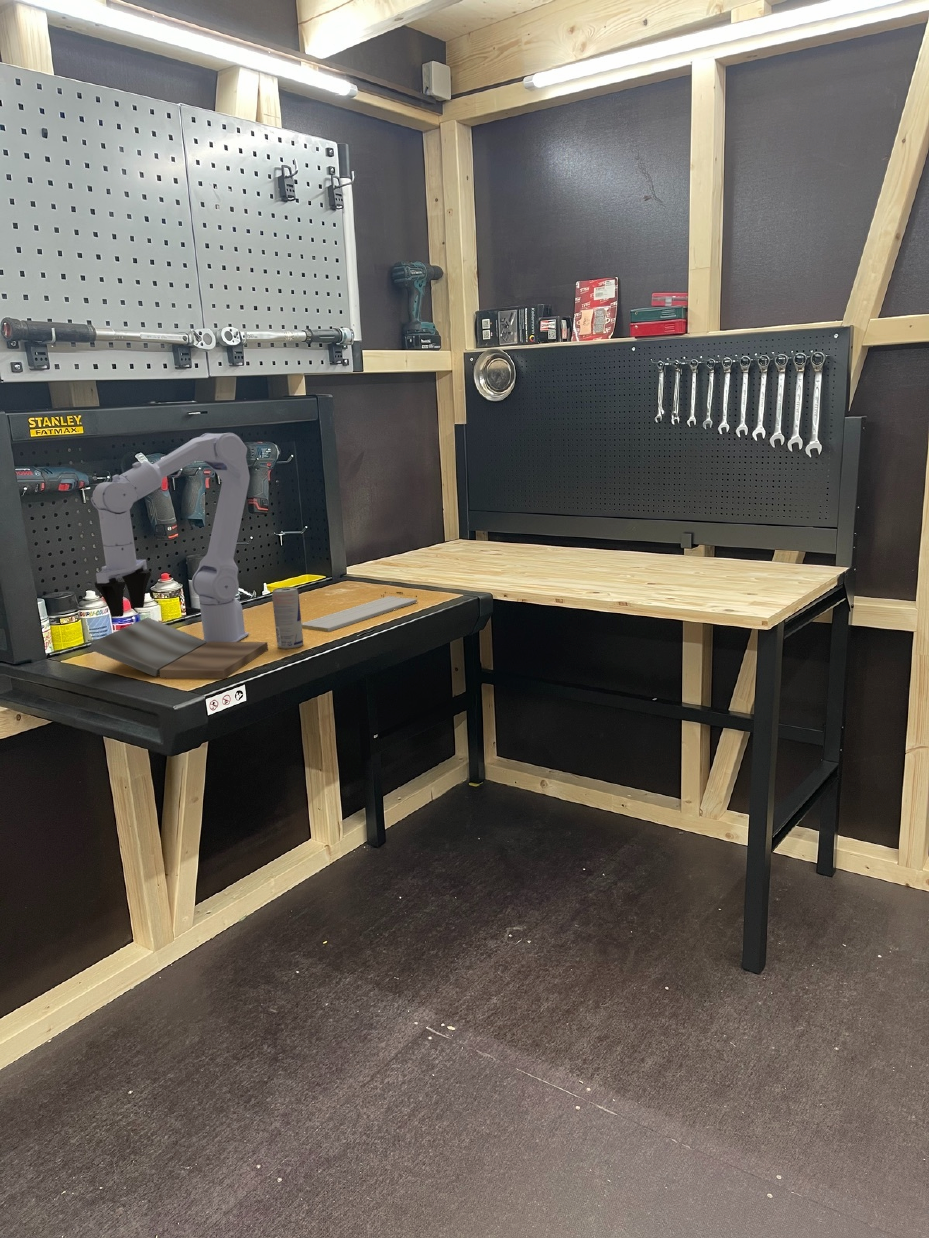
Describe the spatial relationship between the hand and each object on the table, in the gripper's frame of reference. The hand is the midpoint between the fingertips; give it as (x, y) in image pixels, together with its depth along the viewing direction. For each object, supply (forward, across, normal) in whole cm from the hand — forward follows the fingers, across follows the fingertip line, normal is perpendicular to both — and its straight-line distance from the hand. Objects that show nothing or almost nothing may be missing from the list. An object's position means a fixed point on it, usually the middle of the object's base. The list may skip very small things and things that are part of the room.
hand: (128, 611), depth 183 cm
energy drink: (+11, -13, +28) cm, 33 cm away
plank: (+8, 0, +4) cm, 8 cm away
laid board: (+10, 0, +18) cm, 21 cm away
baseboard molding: (+11, -41, +33) cm, 54 cm away
